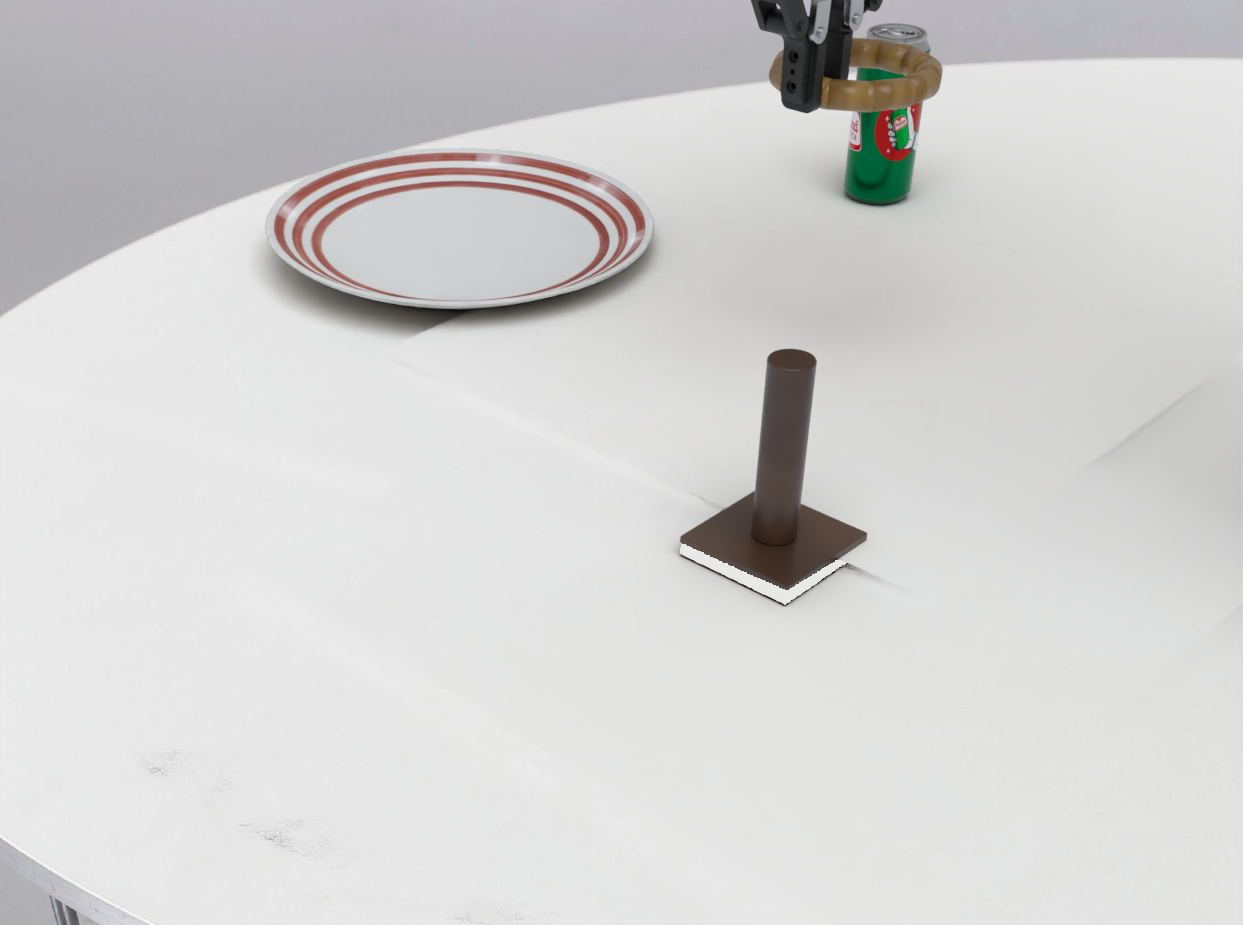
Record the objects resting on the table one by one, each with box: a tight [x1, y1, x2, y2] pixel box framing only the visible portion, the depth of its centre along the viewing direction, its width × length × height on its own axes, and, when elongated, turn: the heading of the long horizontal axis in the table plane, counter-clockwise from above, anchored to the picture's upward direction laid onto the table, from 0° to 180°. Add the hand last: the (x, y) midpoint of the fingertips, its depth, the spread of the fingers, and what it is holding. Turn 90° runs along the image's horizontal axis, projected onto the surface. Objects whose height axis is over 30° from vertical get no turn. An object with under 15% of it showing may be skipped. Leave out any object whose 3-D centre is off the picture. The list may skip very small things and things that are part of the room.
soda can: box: [843, 22, 932, 205], centre depth 121 cm, size 5×5×12 cm
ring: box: [768, 37, 944, 112], centre depth 93 cm, size 10×10×2 cm
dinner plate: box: [264, 147, 655, 310], centre depth 116 cm, size 28×27×3 cm
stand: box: [679, 348, 868, 590], centre depth 82 cm, size 7×7×11 cm
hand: (813, 102), depth 91 cm, fingers closed on ring, 1 cm apart
